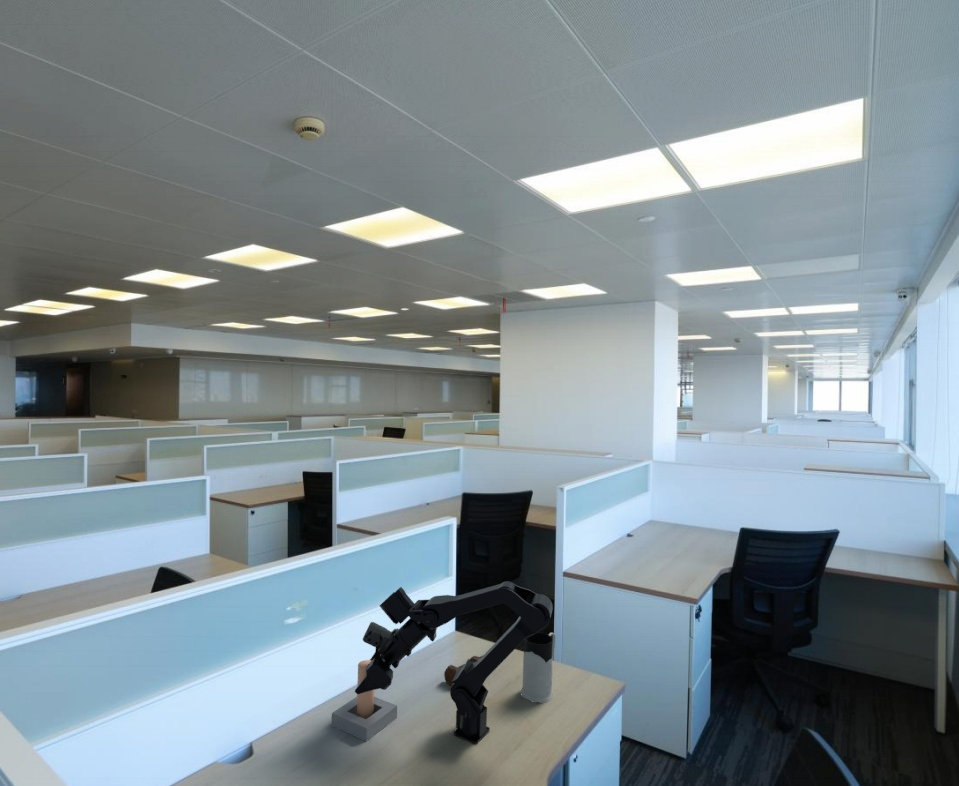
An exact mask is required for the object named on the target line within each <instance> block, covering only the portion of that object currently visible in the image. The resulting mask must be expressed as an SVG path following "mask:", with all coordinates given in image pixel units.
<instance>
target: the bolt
mask: <svg viewBox="0 0 959 786" xmlns="http://www.w3.org/2000/svg"><path fill="white" fill-rule="evenodd" d="M482 656H483V655H481V656H477V655H473V656H471V657H470V658H469V659H470V661H471V662H472V663H474V662H476V661H478V660H479V659H480V658H481V657H482ZM464 665H465V663H464V664H462V665H460V666H458V667H457V666H456V665H453V664H450V665H448V666H447V667H446V668H445V671H444V672H443V673H444V676H443V677H444V681H445V683H446V684H447V685H448V686H449V687H451V686H452V684H453V683H452V680H453V678H454V676H455V674H456V673H457V671H458V669H459V668H461V667H462V666H464Z"/></svg>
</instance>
